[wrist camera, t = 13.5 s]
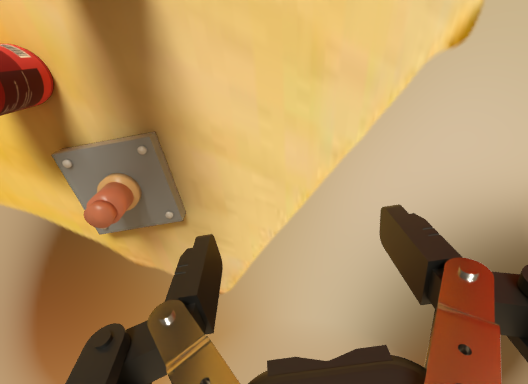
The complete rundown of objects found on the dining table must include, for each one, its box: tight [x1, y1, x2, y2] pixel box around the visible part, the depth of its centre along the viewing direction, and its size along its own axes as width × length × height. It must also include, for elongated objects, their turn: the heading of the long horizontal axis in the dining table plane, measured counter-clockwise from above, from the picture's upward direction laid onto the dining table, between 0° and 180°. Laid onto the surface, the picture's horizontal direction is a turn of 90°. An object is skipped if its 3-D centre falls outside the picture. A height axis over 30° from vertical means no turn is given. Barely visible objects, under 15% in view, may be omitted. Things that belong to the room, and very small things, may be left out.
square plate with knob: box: [52, 132, 186, 235], centre depth 43 cm, size 15×15×4 cm
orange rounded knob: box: [84, 182, 134, 228], centre depth 38 cm, size 5×5×6 cm
